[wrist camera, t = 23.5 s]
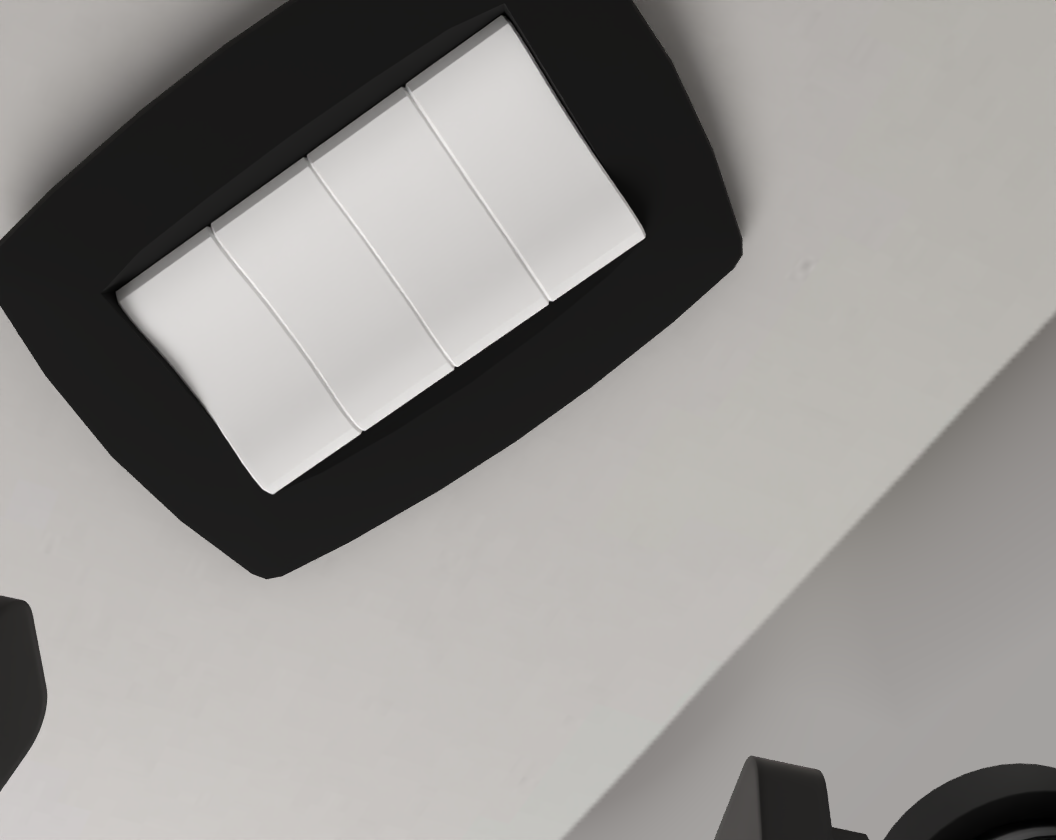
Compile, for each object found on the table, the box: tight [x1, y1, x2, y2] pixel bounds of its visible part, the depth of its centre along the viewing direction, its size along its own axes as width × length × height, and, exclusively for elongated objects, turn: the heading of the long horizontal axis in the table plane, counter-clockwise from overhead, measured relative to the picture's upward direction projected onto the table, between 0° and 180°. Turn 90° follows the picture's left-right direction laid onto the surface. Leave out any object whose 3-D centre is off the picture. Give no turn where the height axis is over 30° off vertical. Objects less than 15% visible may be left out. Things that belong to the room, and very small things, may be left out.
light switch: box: [0, 0, 743, 579], centre depth 29 cm, size 20×3×14 cm
